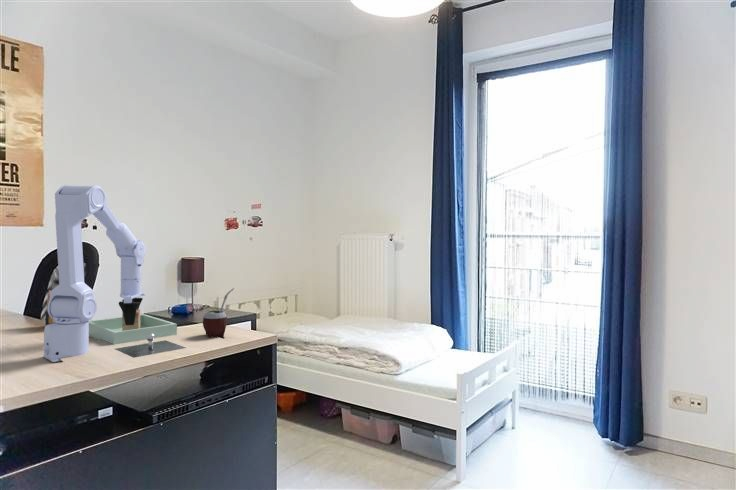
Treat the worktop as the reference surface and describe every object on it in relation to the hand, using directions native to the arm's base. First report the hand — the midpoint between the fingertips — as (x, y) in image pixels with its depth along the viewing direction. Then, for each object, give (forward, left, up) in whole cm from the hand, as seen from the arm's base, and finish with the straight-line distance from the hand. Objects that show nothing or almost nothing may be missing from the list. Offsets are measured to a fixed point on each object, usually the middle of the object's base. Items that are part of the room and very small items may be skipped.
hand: (130, 323), depth 146 cm
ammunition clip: (-12, +27, -4) cm, 30 cm away
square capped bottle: (0, 0, -2) cm, 2 cm away
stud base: (-4, -22, -4) cm, 23 cm away
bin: (0, 0, -4) cm, 4 cm away
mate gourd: (+17, -20, -4) cm, 27 cm away
